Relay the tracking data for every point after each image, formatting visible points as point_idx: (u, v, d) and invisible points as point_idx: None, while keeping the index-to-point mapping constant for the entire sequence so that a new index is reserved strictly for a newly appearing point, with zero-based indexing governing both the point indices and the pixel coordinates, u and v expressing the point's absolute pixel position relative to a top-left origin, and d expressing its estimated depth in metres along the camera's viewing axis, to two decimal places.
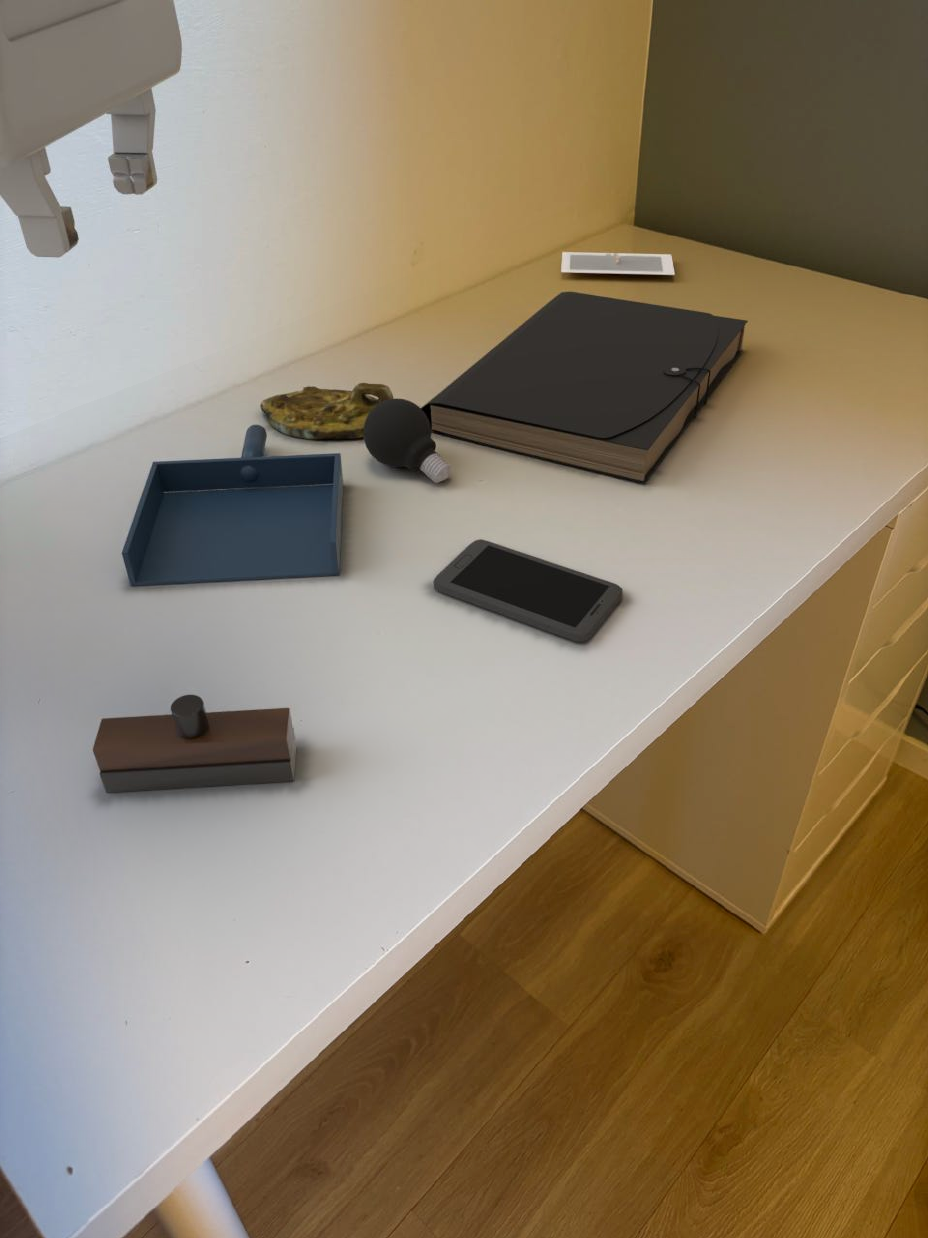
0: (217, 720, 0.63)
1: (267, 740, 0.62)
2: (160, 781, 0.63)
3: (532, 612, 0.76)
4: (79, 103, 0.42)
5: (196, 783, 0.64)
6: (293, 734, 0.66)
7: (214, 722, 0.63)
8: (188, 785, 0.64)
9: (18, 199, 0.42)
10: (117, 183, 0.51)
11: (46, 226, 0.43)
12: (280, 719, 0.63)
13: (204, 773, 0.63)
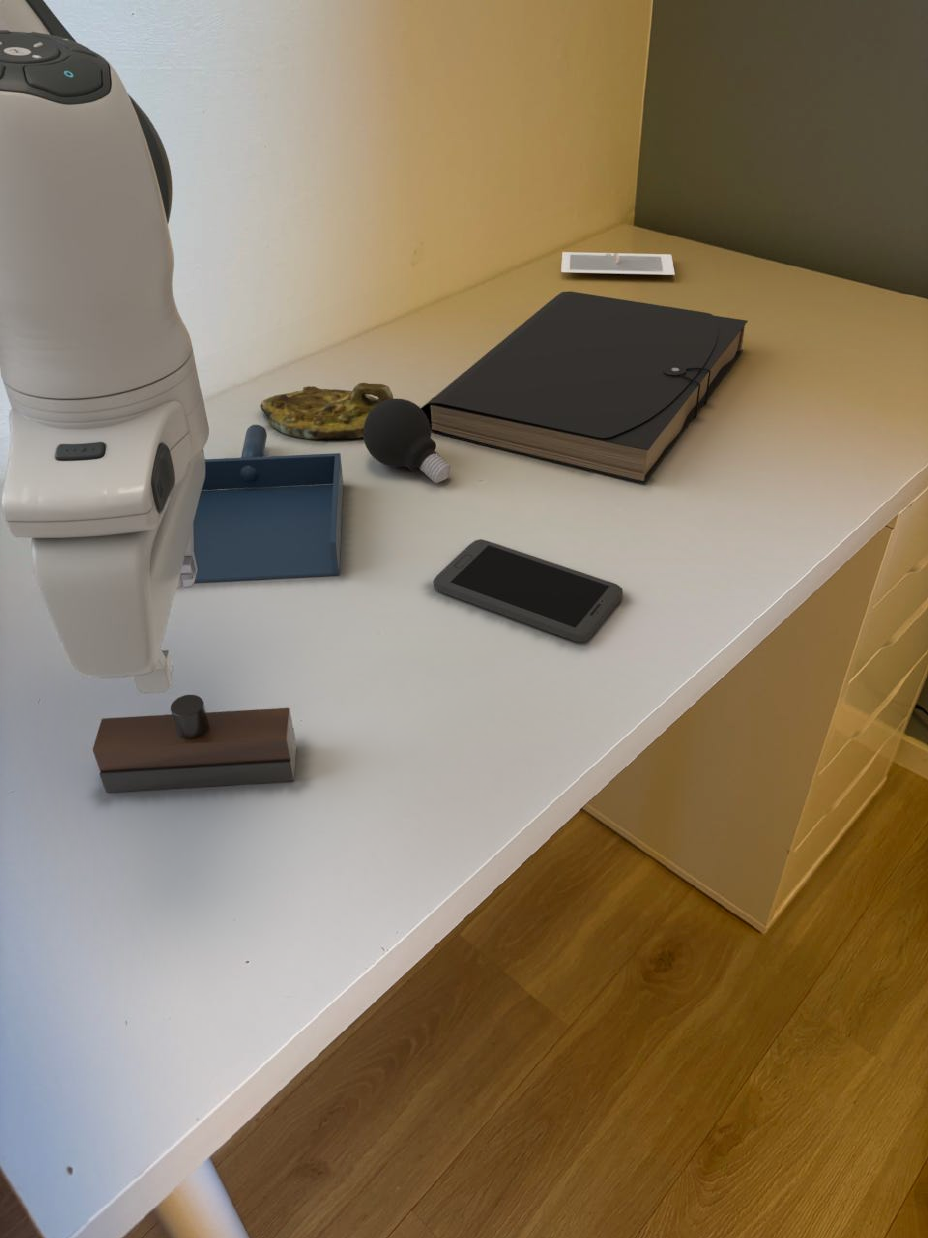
0: (217, 720, 0.63)
1: (267, 740, 0.62)
2: (160, 781, 0.63)
3: (532, 612, 0.76)
4: (174, 578, 0.52)
5: (196, 783, 0.64)
6: (293, 734, 0.66)
7: (214, 722, 0.63)
8: (188, 785, 0.64)
9: None
10: None
11: (155, 674, 0.53)
12: (280, 719, 0.63)
13: (204, 773, 0.63)
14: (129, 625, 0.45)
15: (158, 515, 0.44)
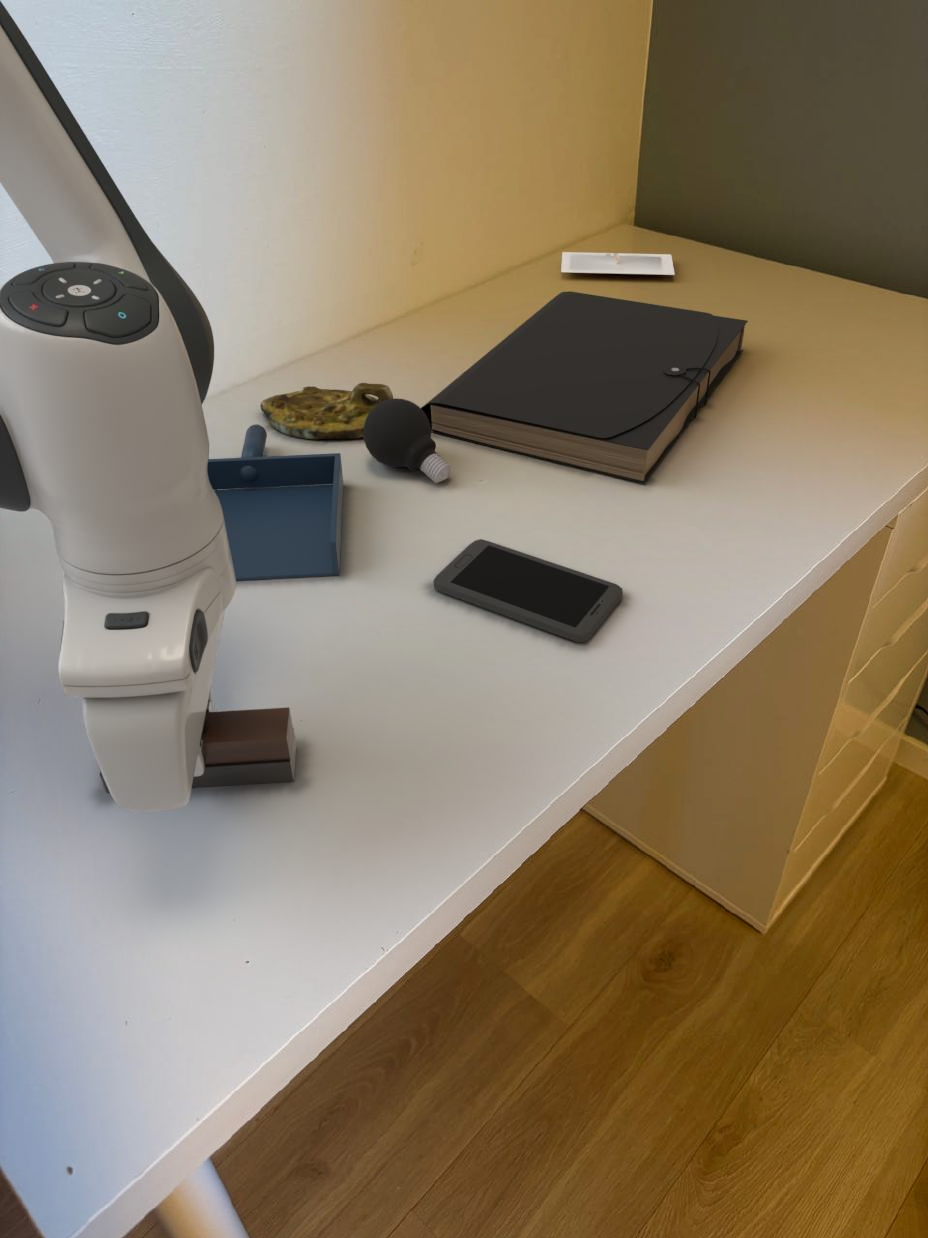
0: (217, 720, 0.63)
1: (267, 740, 0.62)
2: None
3: (532, 612, 0.76)
4: (203, 711, 0.58)
5: (196, 783, 0.64)
6: (293, 734, 0.66)
7: (214, 722, 0.63)
8: None
9: None
10: None
11: None
12: (280, 719, 0.63)
13: (204, 773, 0.63)
14: (167, 770, 0.51)
15: (194, 675, 0.50)
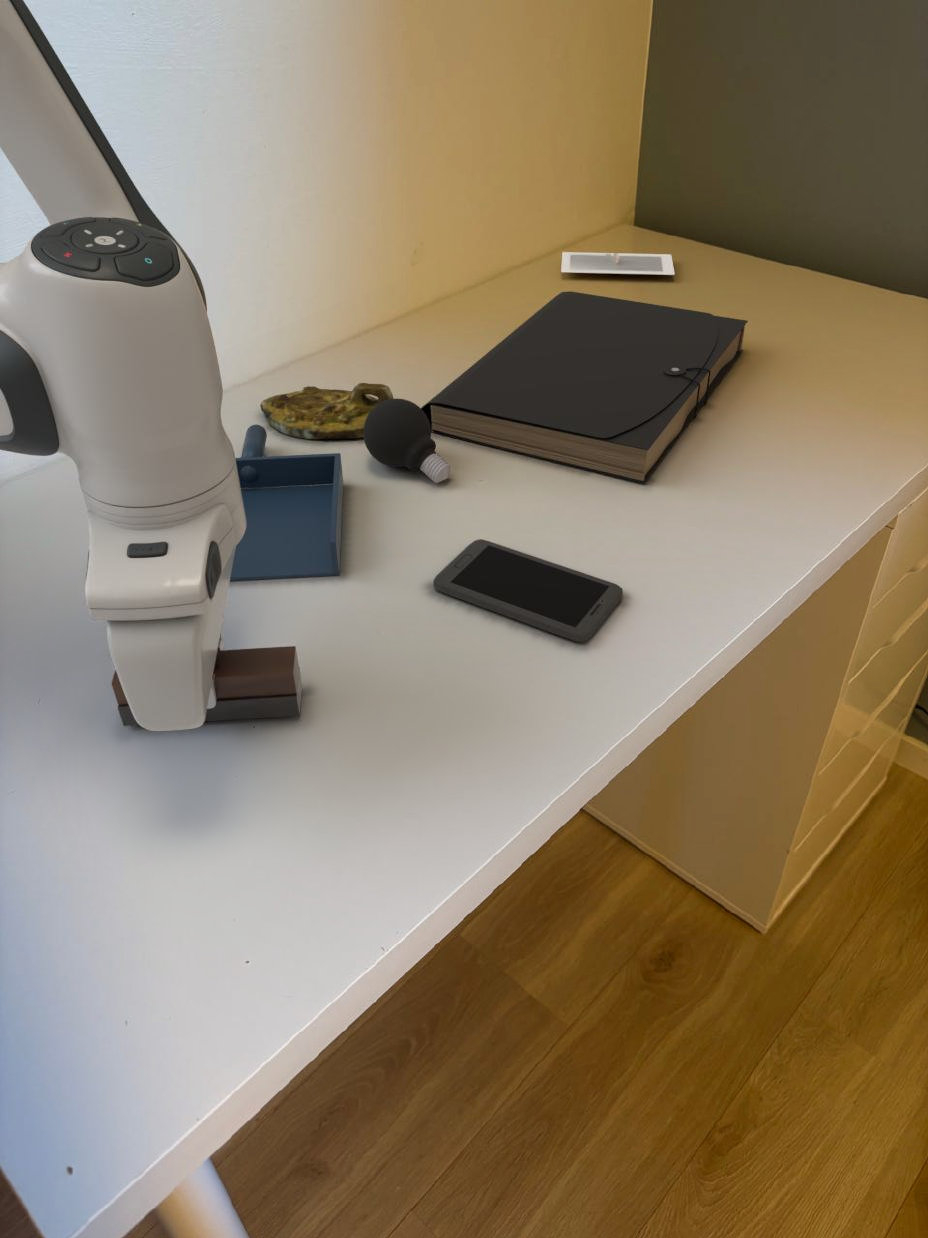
0: (228, 657, 0.68)
1: (275, 674, 0.66)
2: None
3: (532, 612, 0.76)
4: (216, 643, 0.62)
5: (208, 717, 0.68)
6: (299, 672, 0.70)
7: (225, 659, 0.67)
8: None
9: None
10: None
11: None
12: (287, 656, 0.68)
13: (216, 707, 0.67)
14: (185, 689, 0.55)
15: (210, 601, 0.55)
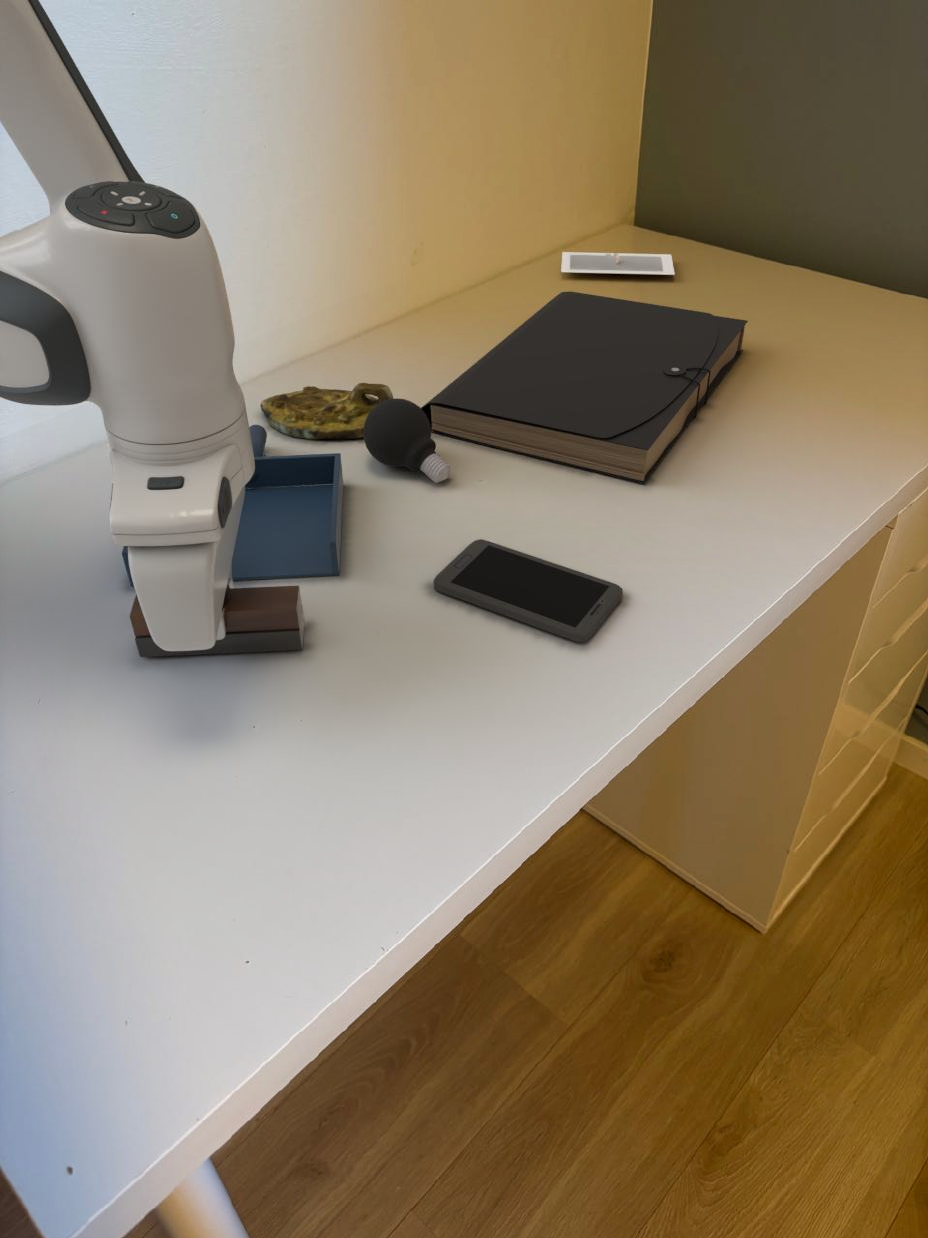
0: (236, 594, 0.73)
1: (279, 609, 0.72)
2: None
3: (532, 612, 0.76)
4: (226, 576, 0.68)
5: (218, 649, 0.74)
6: (302, 610, 0.75)
7: (234, 596, 0.73)
8: (211, 651, 0.74)
9: None
10: None
11: None
12: (291, 594, 0.73)
13: (225, 640, 0.73)
14: (198, 611, 0.61)
15: (221, 530, 0.60)
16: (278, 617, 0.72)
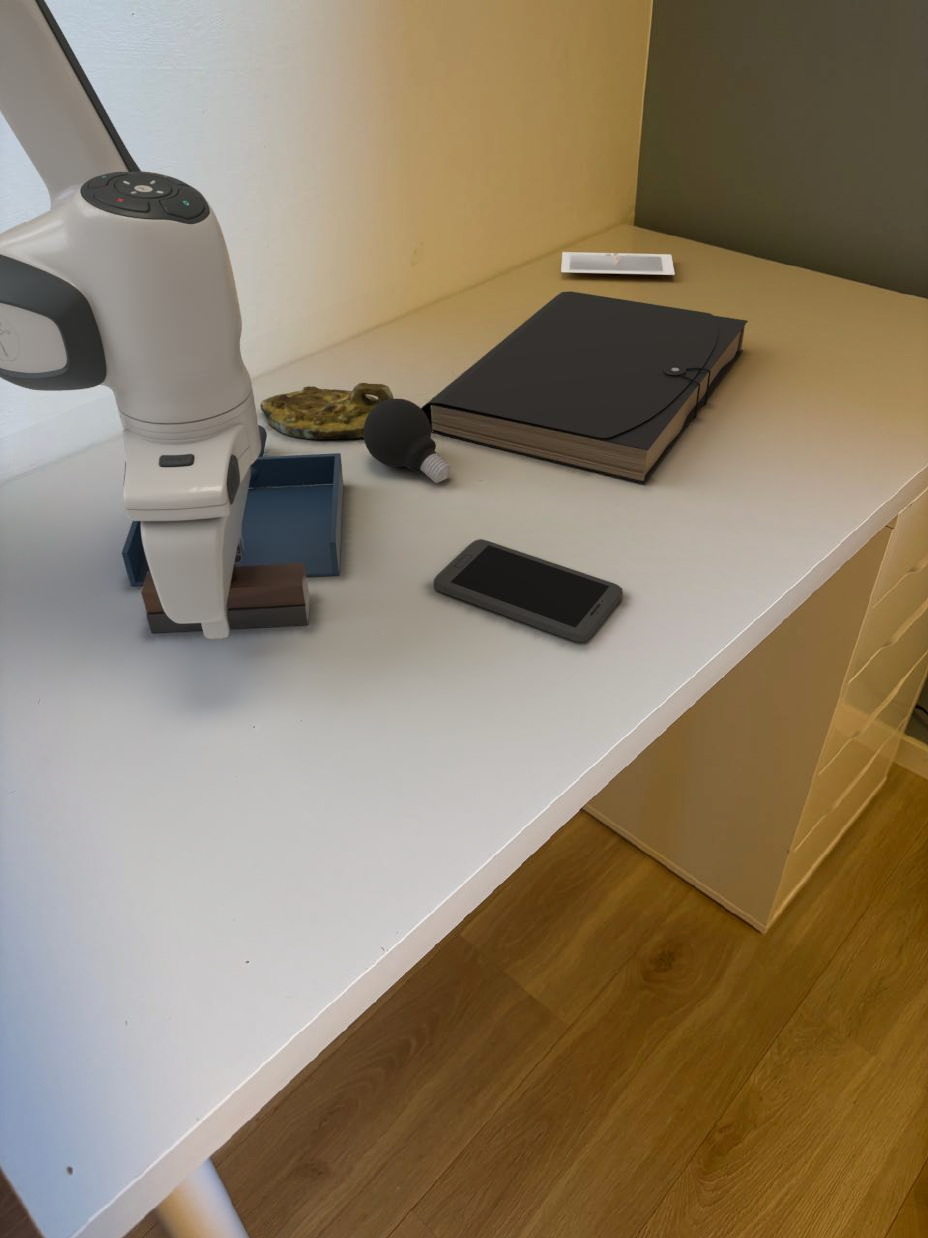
0: (244, 571, 0.76)
1: (286, 586, 0.75)
2: None
3: (532, 612, 0.76)
4: (234, 553, 0.71)
5: None
6: (307, 587, 0.78)
7: (241, 573, 0.76)
8: None
9: None
10: None
11: (218, 624, 0.71)
12: (297, 571, 0.76)
13: (233, 615, 0.76)
14: (208, 583, 0.64)
15: (230, 506, 0.63)
16: (285, 593, 0.75)
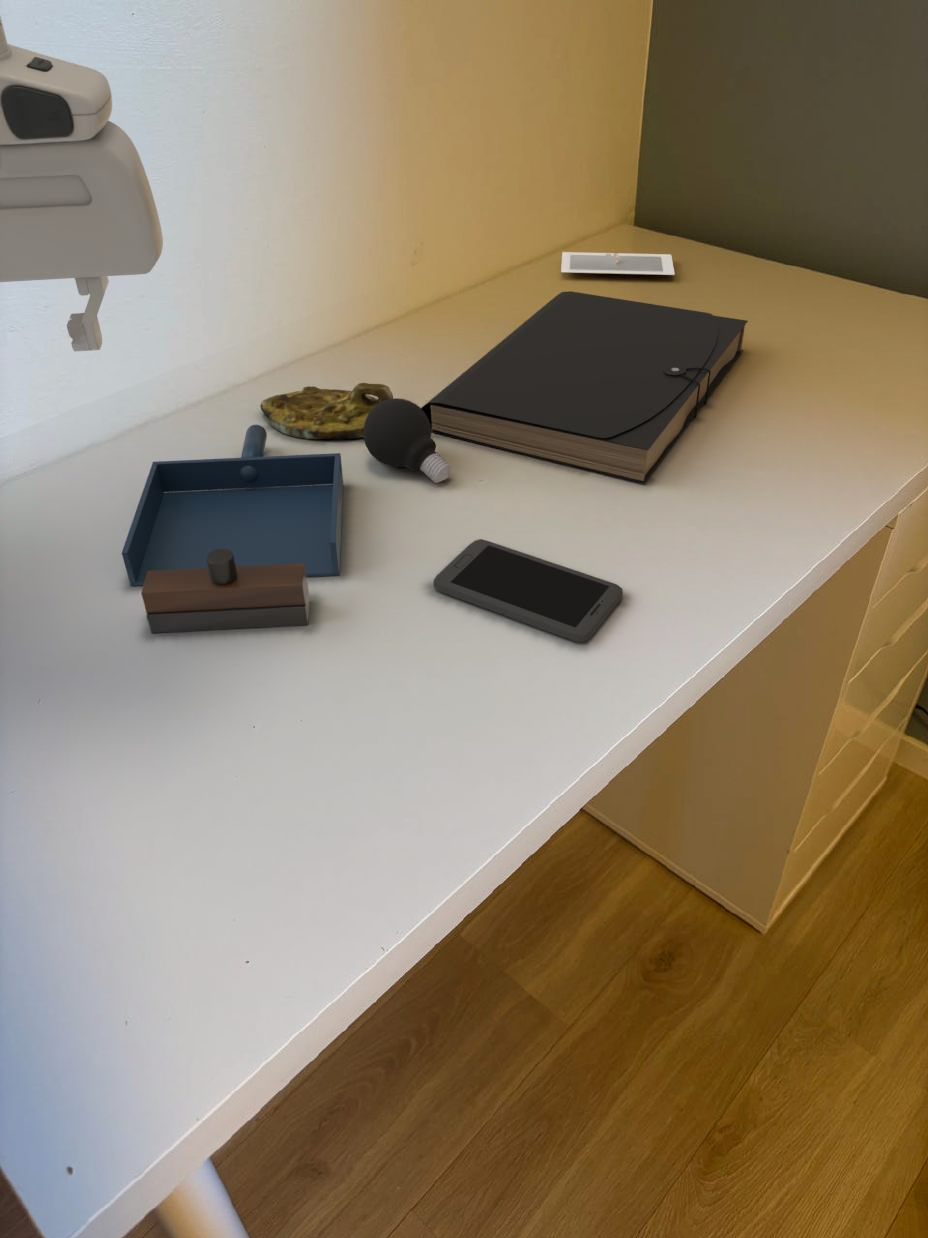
0: (244, 572, 0.76)
1: (286, 586, 0.75)
2: (196, 623, 0.76)
3: (532, 612, 0.76)
4: None
5: (226, 625, 0.76)
6: (307, 587, 0.78)
7: (242, 573, 0.76)
8: (220, 627, 0.76)
9: None
10: None
11: (96, 322, 0.59)
12: (297, 571, 0.76)
13: (233, 616, 0.76)
14: (151, 193, 0.56)
15: None
16: (285, 593, 0.75)
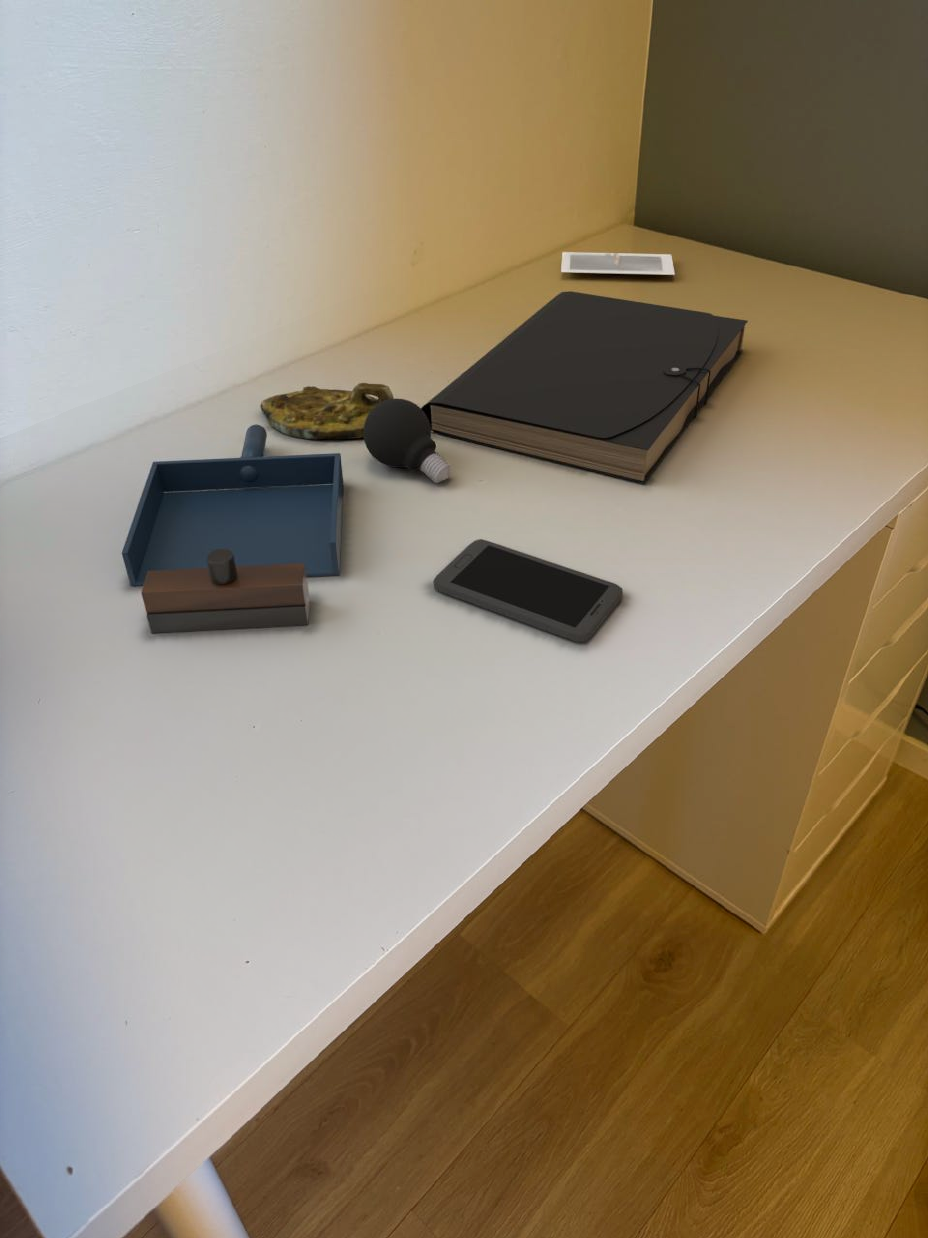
0: (244, 572, 0.76)
1: (286, 586, 0.75)
2: (196, 623, 0.76)
3: (532, 612, 0.76)
4: None
5: (226, 625, 0.76)
6: (307, 587, 0.78)
7: (242, 573, 0.76)
8: (220, 627, 0.76)
9: None
10: None
11: None
12: (297, 571, 0.76)
13: (233, 616, 0.76)
14: None
15: None
16: (285, 593, 0.75)
